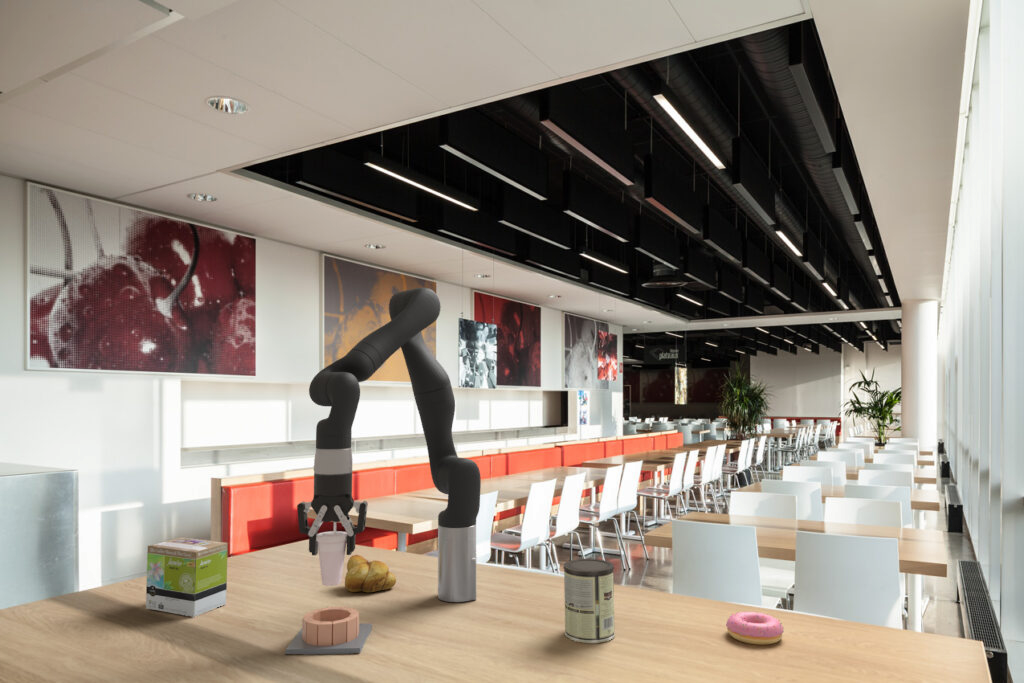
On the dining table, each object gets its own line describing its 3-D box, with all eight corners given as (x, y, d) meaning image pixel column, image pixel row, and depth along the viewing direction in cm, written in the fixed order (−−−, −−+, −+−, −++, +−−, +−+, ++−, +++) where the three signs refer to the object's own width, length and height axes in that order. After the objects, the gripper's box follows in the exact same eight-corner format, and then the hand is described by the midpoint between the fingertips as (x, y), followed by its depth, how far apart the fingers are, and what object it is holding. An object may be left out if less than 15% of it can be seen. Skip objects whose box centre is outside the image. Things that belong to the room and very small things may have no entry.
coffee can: (571, 624, 150) (570, 556, 150) (619, 629, 146) (618, 560, 147) (558, 640, 140) (557, 568, 141) (609, 646, 136) (608, 572, 137)
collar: (371, 628, 147) (372, 603, 148) (359, 653, 133) (360, 626, 134) (304, 629, 147) (304, 604, 147) (285, 654, 133) (285, 627, 133)
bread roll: (399, 585, 180) (399, 553, 180) (389, 596, 170) (389, 562, 171) (350, 584, 181) (350, 552, 181) (337, 595, 171) (338, 561, 172)
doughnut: (714, 632, 144) (714, 612, 145) (756, 625, 149) (756, 605, 149) (752, 651, 134) (752, 629, 135) (796, 642, 139) (795, 621, 139)
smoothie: (339, 588, 137) (340, 515, 138) (309, 586, 138) (310, 514, 139) (353, 579, 143) (354, 510, 144) (324, 578, 145) (325, 509, 146)
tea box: (143, 610, 160) (145, 544, 161) (179, 598, 169) (181, 535, 170) (193, 618, 154) (195, 550, 155) (228, 605, 163) (229, 540, 164)
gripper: (372, 468, 146) (371, 549, 145) (302, 468, 146) (300, 550, 145) (365, 472, 139) (364, 558, 138) (292, 473, 138) (290, 559, 137)
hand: (331, 554), depth 141 cm, fingers closed on smoothie, 6 cm apart
